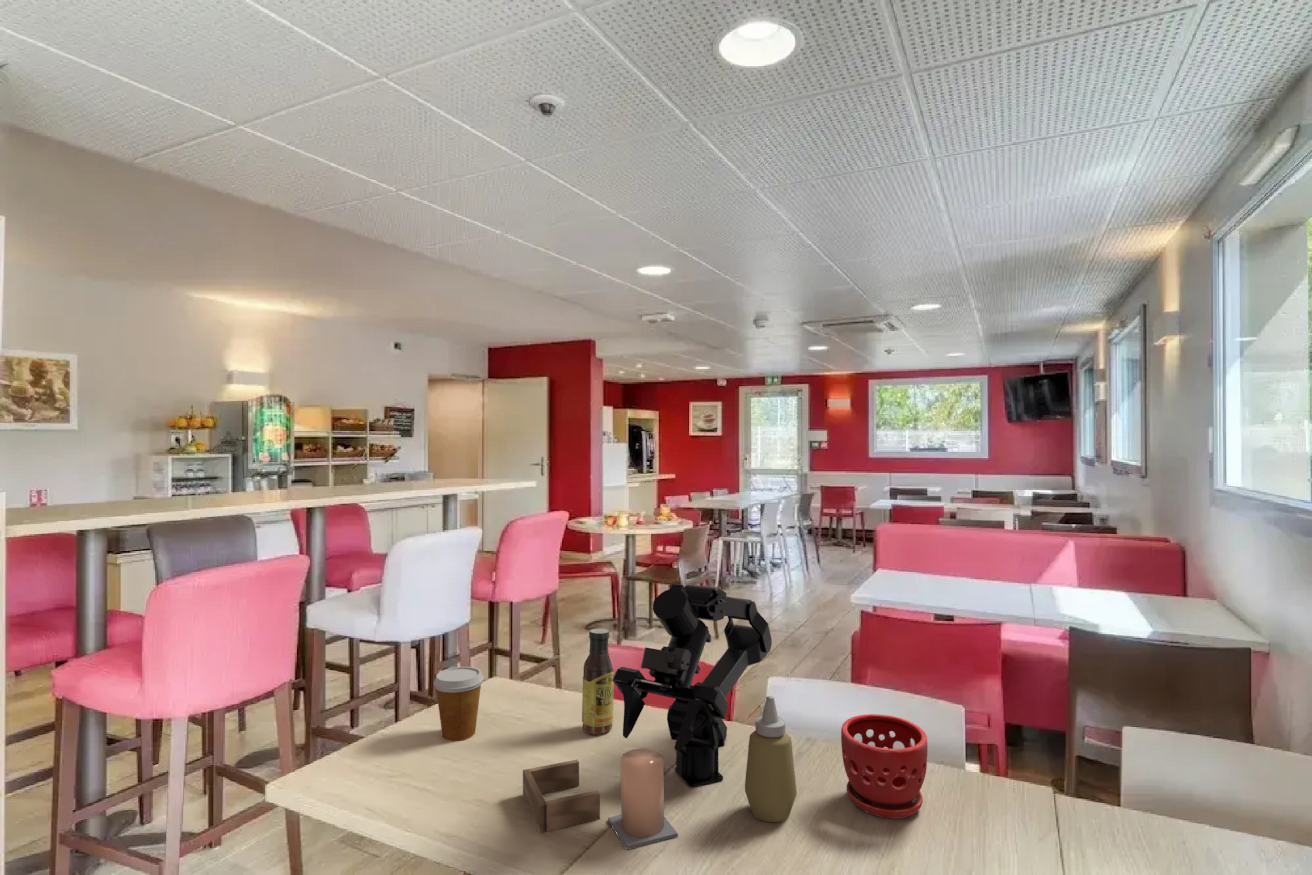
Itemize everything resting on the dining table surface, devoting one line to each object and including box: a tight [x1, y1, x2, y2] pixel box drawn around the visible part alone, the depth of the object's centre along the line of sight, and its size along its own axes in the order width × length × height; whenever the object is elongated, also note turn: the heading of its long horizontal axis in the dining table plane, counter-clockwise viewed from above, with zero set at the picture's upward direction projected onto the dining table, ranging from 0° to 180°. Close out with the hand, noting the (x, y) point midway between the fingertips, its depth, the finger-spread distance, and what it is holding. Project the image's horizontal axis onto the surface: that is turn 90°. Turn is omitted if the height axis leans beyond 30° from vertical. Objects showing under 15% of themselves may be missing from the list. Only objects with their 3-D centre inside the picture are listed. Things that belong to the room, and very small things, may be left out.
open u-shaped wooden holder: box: [522, 759, 601, 834], centre depth 109 cm, size 9×12×4 cm
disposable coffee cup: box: [433, 666, 485, 742], centre depth 135 cm, size 10×10×12 cm
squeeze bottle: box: [744, 695, 798, 823], centre depth 107 cm, size 8×8×18 cm
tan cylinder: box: [620, 747, 665, 837], centre depth 103 cm, size 8×6×10 cm
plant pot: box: [840, 713, 929, 819], centre depth 109 cm, size 13×13×12 cm
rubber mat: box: [607, 814, 679, 850], centre depth 102 cm, size 8×8×1 cm
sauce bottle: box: [581, 628, 615, 736], centre depth 137 cm, size 7×6×20 cm
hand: (649, 743), depth 104 cm, fingers open, 9 cm apart
